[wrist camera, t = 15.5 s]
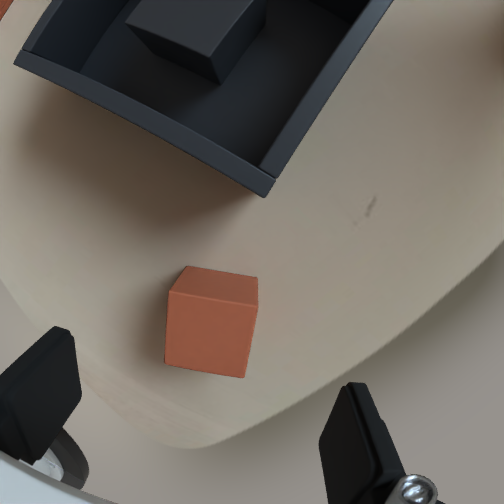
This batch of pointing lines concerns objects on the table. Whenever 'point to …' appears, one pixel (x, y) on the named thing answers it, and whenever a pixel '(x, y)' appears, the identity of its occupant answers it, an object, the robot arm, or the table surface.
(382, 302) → the table surface
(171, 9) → the charcoal block
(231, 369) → the terracotta block
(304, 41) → the charcoal bin
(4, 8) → the terracotta bin
